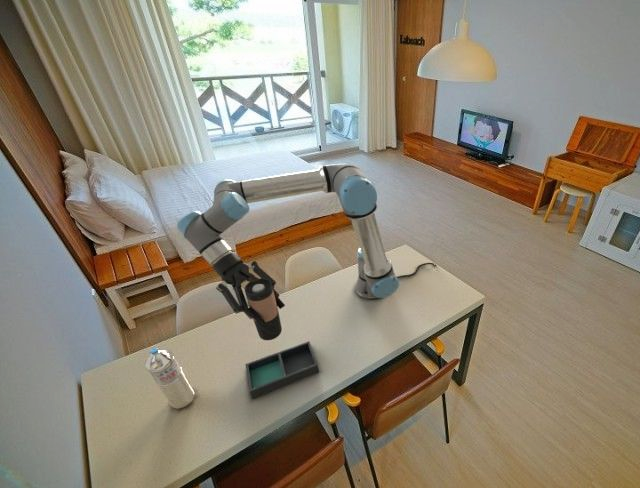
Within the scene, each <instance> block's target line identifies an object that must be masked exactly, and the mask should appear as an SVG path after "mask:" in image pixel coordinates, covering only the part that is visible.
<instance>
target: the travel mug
mask: <svg viewBox="0 0 640 488" xmlns="http://www.w3.org/2000/svg"><path fill="white" fill-rule="evenodd" d="M244 293H245V294H244V295H245V298H246V301H247V305H248V308H249V307H252V308H253V309H254V310H255V311H256V312H257V313H258V314H259V315H260V316H261V318H262V319H263V320H264V321H265V322H266V323H265V324H263V325H262V326H260V325H259V324H258V323H257V322H256V321H255V319H254V318H253V319H252V321H253V323H254V325H255V328H256V331H257V334H258V337H259V338H260V339H261V340H263V341H272V340H275V339H277V338H278V337H279V336H280V335H281V333H282V331H283V330H282V328H283V327H282V323H281V317H280V313H279V307H278V306H277V304H276V300H275V296H274V292H273V288H272V284H271V282H270V281H269V280H267V279H261V278H259V280H257V281H254V282H252V281H251V282H248V283H246V285H245V286H244Z"/></svg>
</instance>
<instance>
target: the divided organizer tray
mask: <svg viewBox="0 0 640 488" xmlns="http://www.w3.org/2000/svg"><path fill="white" fill-rule="evenodd" d="M245 371H246V375H247V376H246V377H247V385H248V391H249V395H250V397H251V400H253V399H256V398H258V397H261V396H263V395H266V394H268V393H271V392H273V391H275V390H278V389H280V388H283V387H285V386H288V385H291V384H293V383H295V382H298V381H300V380H303V379H306V378H308V377H310V376H313V375H315V374H317V373H320V369H319V364H318V361H317V359H316V356H315V352H314V350H313V347H312V345H311V342H310V340H307V341H306V342H303V343H300V344H298V345H295V346H291V347H289V348H286V349H283V350H280V351H278V352H275V353H273V354H270V355H266V356H264V357H261V358H259V359H256V360H252V361H251V362H247V363H245Z"/></svg>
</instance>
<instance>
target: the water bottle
mask: <svg viewBox="0 0 640 488" xmlns="http://www.w3.org/2000/svg"><path fill="white" fill-rule="evenodd" d="M144 366H145V369H146V371H147V372H149V374H150V376H151V377H152V378H153V380H154V382H155V384H156V386H157V387H158V388H159V390H160V391H161V393H162V394H163V396H164V397H165V399H166V400H167V402H168V404H169V405H170V406H171V407H172V408H174V409H177V410H180V409H184V408H186V407H187V406H189V405H190V404H191V403H192V402H193V401H194V399H195V397H196V396H195V395H196V394H195V390H194V388H193V386H192V384H191V383H190V381H189V379H188V378H187V376H186V374H185V373H184V370H183V368H182V367H181V366H180V365H179V363H178V361H177V359H176V358H175V354H174V353H173V351H171V350H169V349H158V348H157V347H152V348H151V349H150V350H149V355H148V356H147V358H146V360H145V363H144Z"/></svg>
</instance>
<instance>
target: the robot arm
mask: <svg viewBox="0 0 640 488" xmlns="http://www.w3.org/2000/svg"><path fill="white" fill-rule="evenodd" d="M376 189H377V188H376V187H375V184H374V183H373V182H372V181H371V179H369V178H368V177H367V176H366V175H365V174H364V173H363V171H362V169H360V168H359V167H358V166H356V165H354V164H351V163H334V164H326V165H320V166H319V168H318V169H312V170H307V171H306V170H305V171H299V172H293V173H285V174H279V175H273V176H267V177H261V178H254V179H247V180H241V181H235V180H234V179H229V178H226V179H221V180H220V181H218V182H217V184H216V186H215V188H214V191H213V201H212V205H211V207H209V208H208V209H207V210H206V211H204V212H203V213H201V211H198V210H195V211H192V212H191V211H190V212H189V213H188V214H186V215H184V216H182V217H181V218H180V219H179V220H177V223H176V228H177V229H178V230H179V232H180V233H181V234H182V236H183V238H184V239H186V240H187V241H188V242H189V243H190V244H191V246H192V247H193V248H194V249H195V250H196V251H197V252H198V253H199V254H200V256H201V257H202V258H203V259H204V260H205V262H207V264H208V265H210V266H212V269H213V270H214V272H215V273H216V274H217V275H218V276H219V277H221V282H220V283H219V284H217V286H216V287H215V289H216V290H217V291H218V292H219V293H220V294H222V296H223V297H224V299H225V300H226V302H227V303H228V305H229V307H230V308H231V309H232V311H233V312H234V314H239V313H244V314H245V315H246V316H247V317H248V319H250V320H253V318H254V319H255V321H256V322H257V323H258V324H259V325H260V326H262V325H263V324H265V323H266V322H265V321H264V320H263V319H262V318H261V316H260V315H259V314H258V313H257V312H256V311H255V310H254V309H253V308H252V307H249V304H248V301H247V298H246V296H245V294H244V292H243V291H244V290H243V288H242V284H243V283H245V282H248V283H249V282H251V281H252V282H254V281H257V280H259V279H267V280H269V281H270V282H271V284H272V288H273V292H274V296H275V300H276V304H277V308H278V309H280V310H281V309H283V308H284V307H285V306H286V305H285V302H283V301H282V300H281V299H280V298H279V297H280V294H279V293H278V291H277V290H276V289H275V285H276V284H277V282H276V280H275V279H273V278H272V277H271V276H270V275H269V274H268V273H267V272H266V271H265V270H264V269H262V268H261V267H260V265H259V264H258V262H257V261H256V260H253V261H252V262H250V263H245V262H243V260H242V258H241V257H240V256H239V254H237V253H236V252H235V251H233V248H232V247H231V246H230V244H228V242H227V241H226V240H225V239H224V238H223V237H222V235H221V234H223V233H224V232H226V231H227V230H228V229H229V228H231V227H232V226H233V225H235V224H236V223H237V222H239V221H240V220H243V218H244V217H245V216H246V215H247V214H249V212H250V206H249V205H248V204H252V203H259V202H265V201H270V200H276V199H277V200H278V199H283V198H289V197H294V196H301V195H305V194H311V193H312V194H313V193H317V192H324V193H325V194H330V193H334V194H335V193H336V195H337V196H338V200H339V202H340V205H341V208H342V211H343V214H344V216H345V217H346V218H347V219H349V220H350V222H351V224H352V227H353V230H354V232H355V237H356V239H357V242H358V245H359V248H358V250H357V255H356V257H357V272H358V273H357V274H358V275H357V279H356V282H355V284H354V285H355V286H354V287H355V292H356V294H357V295H358V296H359V297H360V298H363V299H366V300H376V299H379V298H381V299H383V298H387V297H390V296H392V295H393V294H394V293H395V292H396V291H397V290H398V289H399V286H400V282H399V281H400V280H399V279H400V278H409V277H413V276H414V275H416V274H417V272H418V270H419V268H422V267H423V266H427V265H428V266H429V265H431V266H434V267H436V266H437V264H435V263H433V262H424V263H421V264H419V265H418V266H416V268H415V271H414V272H412V273H410V274H404V275H399V276H396V274H395V270H394V267H393V264H392V260H391V259H389V258H388V257H387V255H386V251H385V248H384V244H383V240H382V237H381V233H380V229H379V226H378V221H377V217H376V214H375V212H376V211H377V208H378V205H377V201H378V193H377V190H376ZM434 264H435V265H434ZM250 271H252V272H254V274H255V275H257V276H258V277H257V276H255V275H254V274H253V273H252V272H250ZM228 285H231V288H232V290H233V292H234V294H235V296H236V298H235V297H234V295H233V293H232V292H231V291H230V288H229V287H228Z"/></svg>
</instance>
